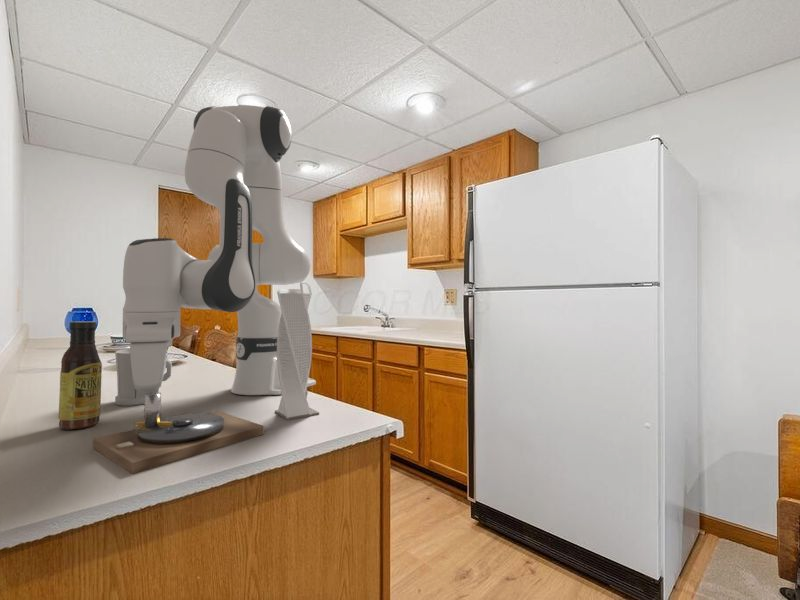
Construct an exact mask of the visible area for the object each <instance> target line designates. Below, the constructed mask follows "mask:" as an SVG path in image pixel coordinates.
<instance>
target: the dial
mask: <svg viewBox="0 0 800 600" xmlns="http://www.w3.org/2000/svg"><path fill="white" fill-rule="evenodd" d="M143 419H144V421H142V420H141V421H136V422H134V423H133V426H135V427H138V426H140V427H138V428H139V429H138V428H137V429H138V439H139V440H141V441H143V442H147V443H157V444H165V443H178V442H186V441H191V440H196V439H200V438H204V437H207V436H210V435H213V434H215V433H217V432H219V431H220V430H222V429H223V427H224V418H223V417H221V416H218V415H214V414H205V413H185V414H179V415H178V414H177V415H172V416H166V417H163V418H162V393H161V392H159V393H148V394H145V404H144V418H143Z"/></svg>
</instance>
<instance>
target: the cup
mask: <svg viewBox="0 0 800 600" xmlns="http://www.w3.org/2000/svg"><path fill="white" fill-rule="evenodd" d="M114 354H115V363H116V364H115V365H116V366H115V367H116V376H117V377H116V381H117V383H116V384H117V386H116V387H117V395H116V396H115V397H114V399H115V401H114V403H115V404H116V405H118V406H125V407H127V406H128V407H129V406H133V407H134V406H142V405H145V393H144V390H136V389H135V387H134V382H133V376H132V367H131V356H130V348H128V349H120V350H116V351H115V353H114ZM172 368H173V363H172V361H170V360H169V359H168V360H167V359H166V371H165V373H164V376H163V380H162V382H166V381H168V379H170V377H172V370H173V369H172ZM158 393H160V391H159V392H158Z"/></svg>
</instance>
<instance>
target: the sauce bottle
mask: <svg viewBox="0 0 800 600" xmlns="http://www.w3.org/2000/svg"><path fill="white" fill-rule="evenodd" d="M96 329H97V321H92V320H91V321H88V320H87V321H80V320H79V321H77V320H76V321H70V322H69V331H70V341H69V347H68V348H67V349H66V351H65V352H64V354H63V356H62V358H61V363H60V364H61V366H60V367H61V369H60V376H59V401H58V402H59V403H58V420H59V423H58V427H59V428H60V429H61V430H69V431H70V430H71V431H72V430H79V429H85V428H90V427H93V426H94V425H96V424H98V423H99V421H100V416H101V399H102V398H101V396H102V369H103V364H102V361H101V358H100V355H99V352H98V349H97V346H96V339H95V338H96Z"/></svg>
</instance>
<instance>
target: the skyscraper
mask: <svg viewBox="0 0 800 600" xmlns="http://www.w3.org/2000/svg"><path fill="white" fill-rule="evenodd" d="M303 284H305V285H306V286H307V289H308V293H304V289H303V288H304V287H303ZM299 286H300V287H299V288H292V289H291V288H288V290H287V289H283V288H281V289H278V290H277V297H278V302H279V303H278V304H279V306H280V307H281V312H282V313H281V318H280V323H279V328H278V337H277V364H278V374H279V381H280V387H281V393H282V394H281V398H280V402H279V405H278V407H277V408H278V409H276V410H275V409H274V413H275V414H277V415H278V416H280V417H282V418H283V419H284V420H286V421H290V420H295V419H301V418H309V417H313V416H318V415H320V412H319V411H318V410H316V409H313V408H311V407H310V406H309V402H308V392H309V391H308V387H307V383H308V378H310V377H309V376H310V370H311V365H312V355H313V337H312V327H311V326H312V325H311V321H310V315H309V314H310V313H309V311H308V309H309V305H310V302H311V299H312V298H311V297H312V294H313V293H312V289H311V286H310V285H309V284H308V282H307V281H305V280H304V281H302V282H299ZM282 292H283V293H282Z"/></svg>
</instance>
